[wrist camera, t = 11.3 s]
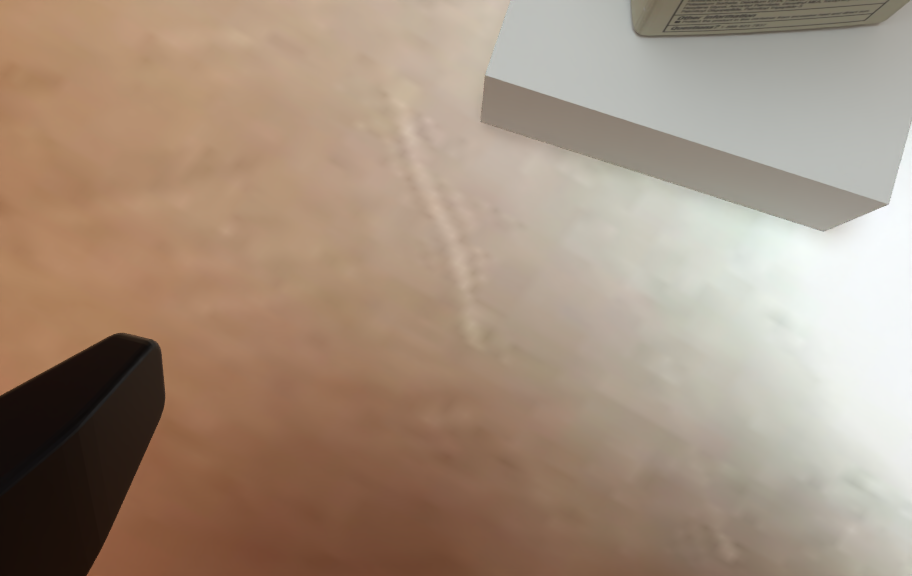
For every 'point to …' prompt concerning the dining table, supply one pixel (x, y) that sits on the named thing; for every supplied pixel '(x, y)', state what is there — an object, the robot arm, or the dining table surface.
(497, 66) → the grey block
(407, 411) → the dining table surface
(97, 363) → the robot arm
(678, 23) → the skincare box
